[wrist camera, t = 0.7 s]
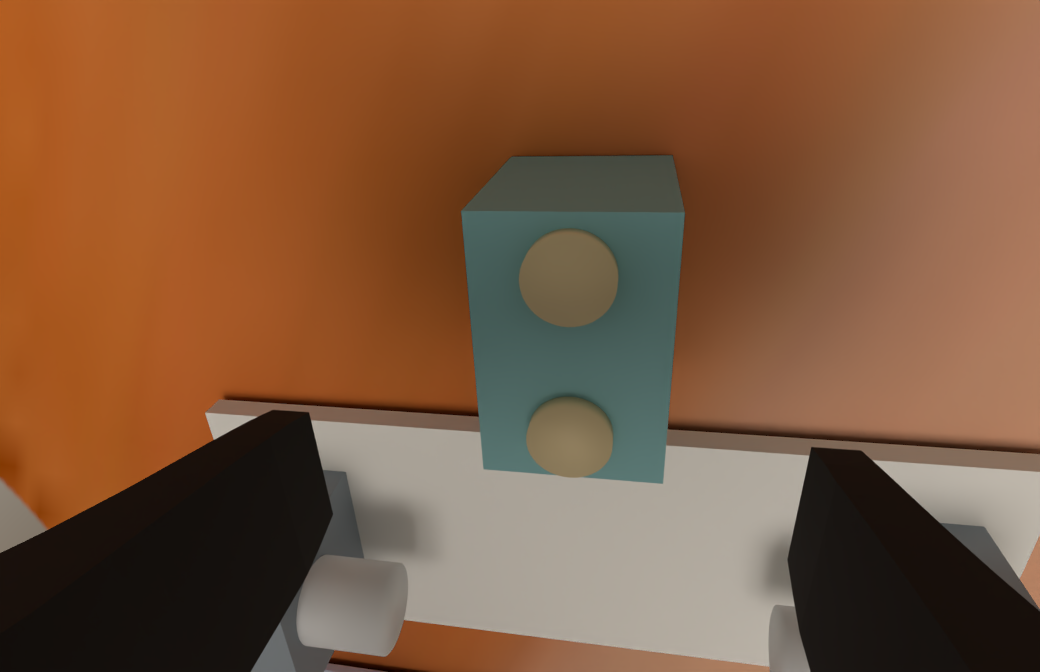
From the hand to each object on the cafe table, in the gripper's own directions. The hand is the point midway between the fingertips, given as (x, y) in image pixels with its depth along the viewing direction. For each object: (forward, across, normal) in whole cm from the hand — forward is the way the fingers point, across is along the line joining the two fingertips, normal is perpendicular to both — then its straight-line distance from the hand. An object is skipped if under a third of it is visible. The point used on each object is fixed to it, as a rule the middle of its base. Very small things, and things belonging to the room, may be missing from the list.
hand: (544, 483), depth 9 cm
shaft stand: (+9, 0, +10) cm, 13 cm away
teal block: (+9, 0, 0) cm, 9 cm away
